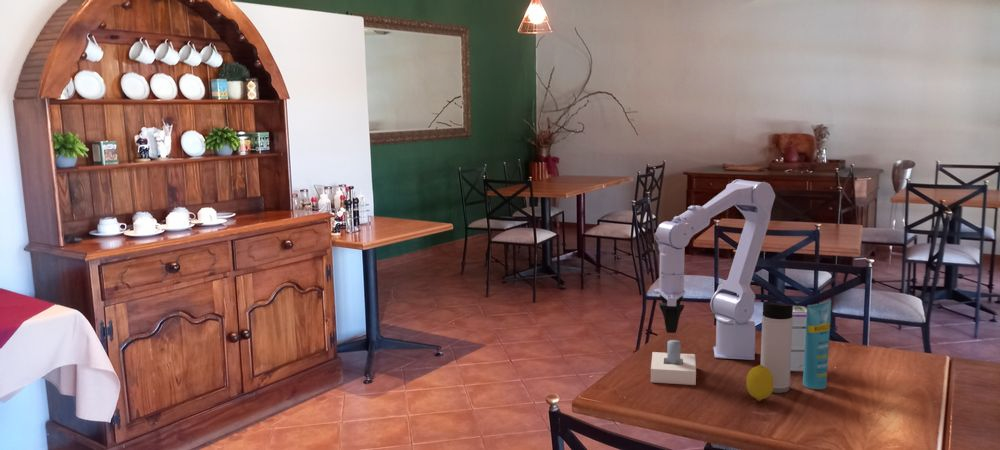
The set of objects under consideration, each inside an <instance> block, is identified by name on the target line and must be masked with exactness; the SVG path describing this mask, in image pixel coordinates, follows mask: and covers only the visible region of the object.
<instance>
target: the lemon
mask: <svg viewBox="0 0 1000 450" xmlns="http://www.w3.org/2000/svg"><path fill="white" fill-rule="evenodd" d="M745 379H746V380H745V381H746V382H745V385H746V389H747V392H748V393H749V395H750V396H751V397H753V398H754V399H756V400H757V401H758V402H761V401H762V400H763V399H764V400H765V399H766V398H769V397H770V395H771V394H773V392H772V391H773V387H774V381H773V376H772V373H771V372H770V371H769V370H768V369H767V368H766V367H763V366H762V365H761V364H758V365H756V366H753V367H752V368H751V369H750V370H748V373H747V375H746V378H745Z"/></svg>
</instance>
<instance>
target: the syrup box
mask: <svg viewBox="0 0 1000 450" xmlns="http://www.w3.org/2000/svg"><path fill="white" fill-rule="evenodd" d="M792 314H793V315H792V316H793V319H792V320H793V321H792V344H791V367H790V372H804V354H805V335H806V316H807V307H806V306H804V305H803V306H802V305H793V312H792Z"/></svg>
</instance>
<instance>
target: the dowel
mask: <svg viewBox="0 0 1000 450" xmlns="http://www.w3.org/2000/svg"><path fill="white" fill-rule="evenodd" d="M666 343H667V349H666V350H667V352H666V353H667V364H673V365H680V354H681V350H682V349H681V345H682V344H681V341H680V340H676V339H670V340H668V341H667V342H666Z"/></svg>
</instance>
